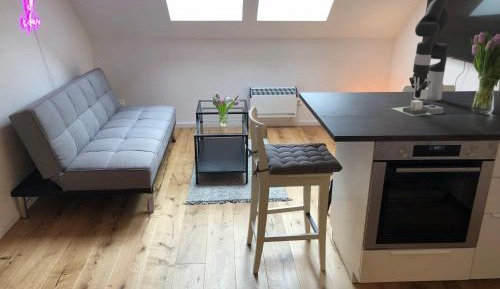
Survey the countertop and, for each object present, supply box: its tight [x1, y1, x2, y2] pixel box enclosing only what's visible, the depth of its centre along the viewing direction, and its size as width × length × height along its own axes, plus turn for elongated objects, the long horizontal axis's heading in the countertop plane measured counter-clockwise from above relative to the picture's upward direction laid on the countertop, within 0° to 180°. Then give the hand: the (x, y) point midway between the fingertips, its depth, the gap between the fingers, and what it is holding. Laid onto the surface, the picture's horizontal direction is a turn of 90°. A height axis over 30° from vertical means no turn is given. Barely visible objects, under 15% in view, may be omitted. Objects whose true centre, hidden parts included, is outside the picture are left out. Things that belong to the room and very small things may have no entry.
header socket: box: [402, 106, 426, 115], centre depth 212 cm, size 8×8×2 cm
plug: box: [409, 99, 424, 110], centre depth 211 cm, size 5×4×6 cm
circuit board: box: [390, 104, 444, 117], centre depth 216 cm, size 20×17×4 cm
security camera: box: [413, 87, 429, 101], centre depth 232 cm, size 6×7×10 cm
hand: (417, 97), depth 210 cm, fingers closed
